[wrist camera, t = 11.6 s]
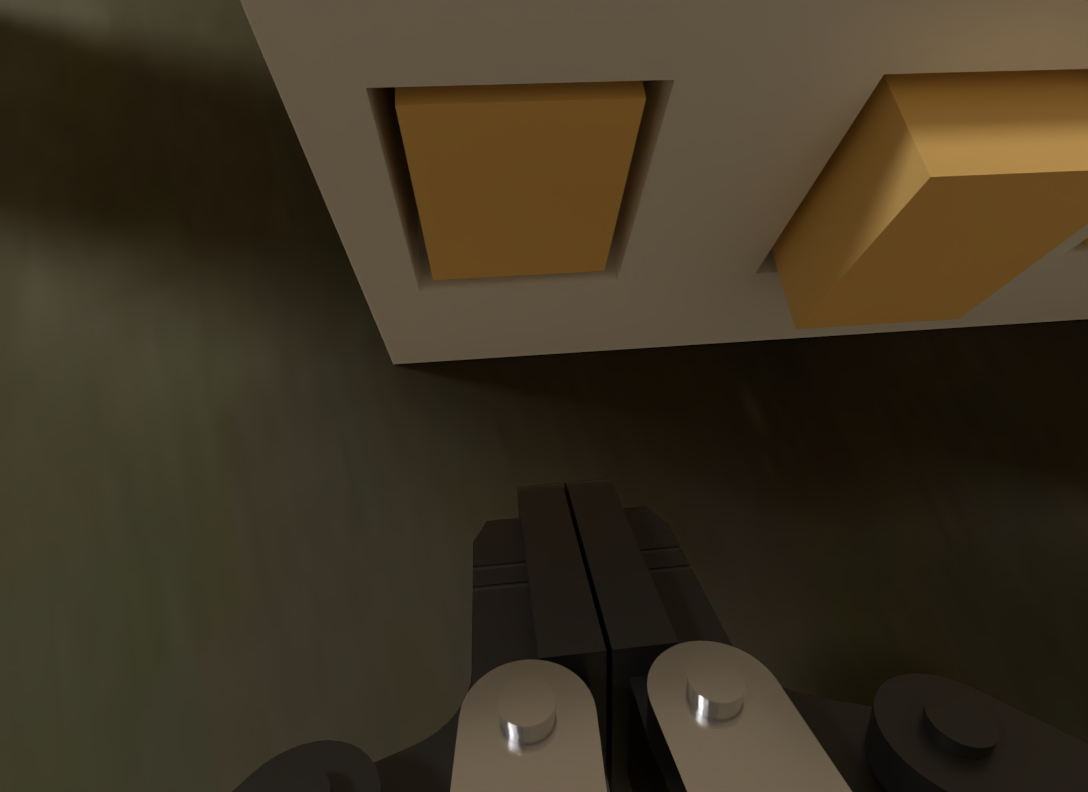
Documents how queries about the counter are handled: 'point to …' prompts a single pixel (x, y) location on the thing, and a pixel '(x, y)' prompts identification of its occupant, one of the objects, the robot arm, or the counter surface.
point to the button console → (640, 151)
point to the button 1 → (519, 173)
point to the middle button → (938, 197)
